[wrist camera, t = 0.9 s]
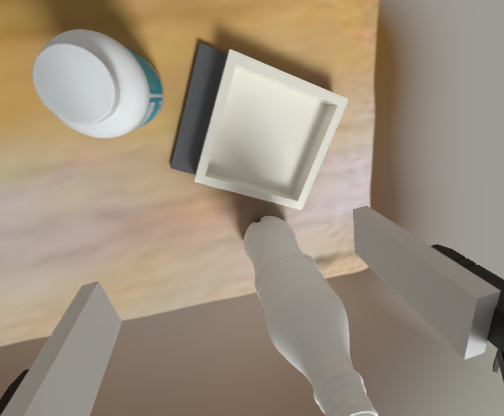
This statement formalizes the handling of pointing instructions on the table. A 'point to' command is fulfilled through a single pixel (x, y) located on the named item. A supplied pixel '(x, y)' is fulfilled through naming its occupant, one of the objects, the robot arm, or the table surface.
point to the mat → (198, 108)
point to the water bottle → (305, 318)
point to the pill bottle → (97, 84)
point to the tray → (267, 132)
